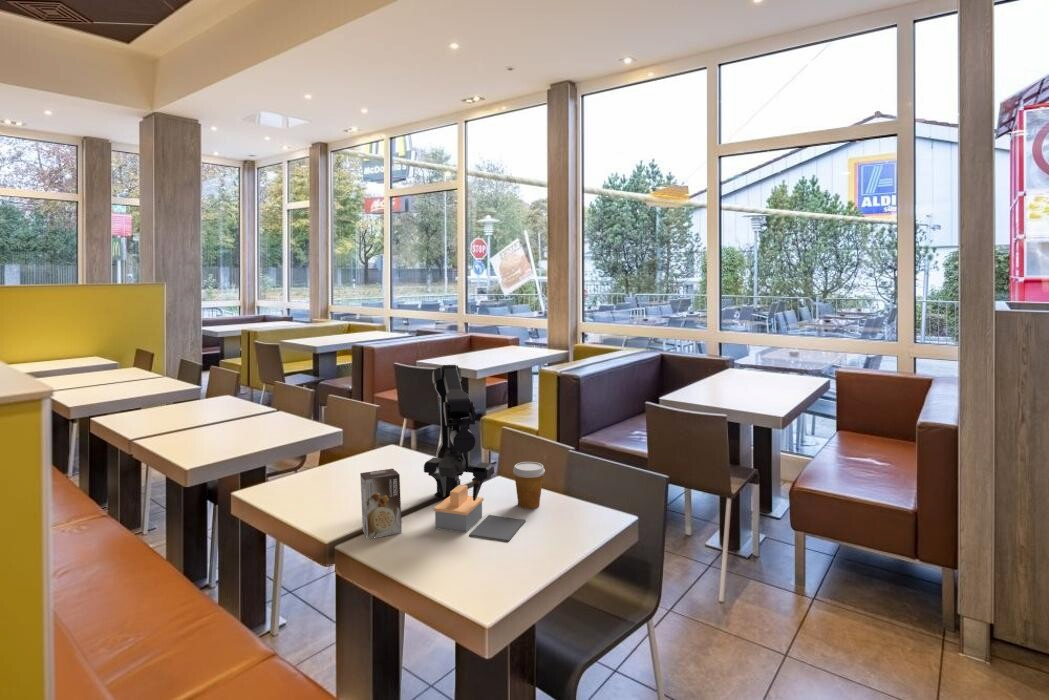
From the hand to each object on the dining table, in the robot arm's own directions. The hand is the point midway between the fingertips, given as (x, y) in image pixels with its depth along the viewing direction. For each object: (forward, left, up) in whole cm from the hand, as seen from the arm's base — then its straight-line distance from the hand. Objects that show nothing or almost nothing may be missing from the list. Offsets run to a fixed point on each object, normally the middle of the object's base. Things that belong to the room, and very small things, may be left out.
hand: (459, 498), depth 163 cm
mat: (+12, 0, -7) cm, 13 cm away
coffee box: (-17, -12, -7) cm, 22 cm away
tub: (0, 0, -7) cm, 7 cm away
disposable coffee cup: (+14, +19, -7) cm, 25 cm away
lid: (0, 0, -3) cm, 3 cm away
